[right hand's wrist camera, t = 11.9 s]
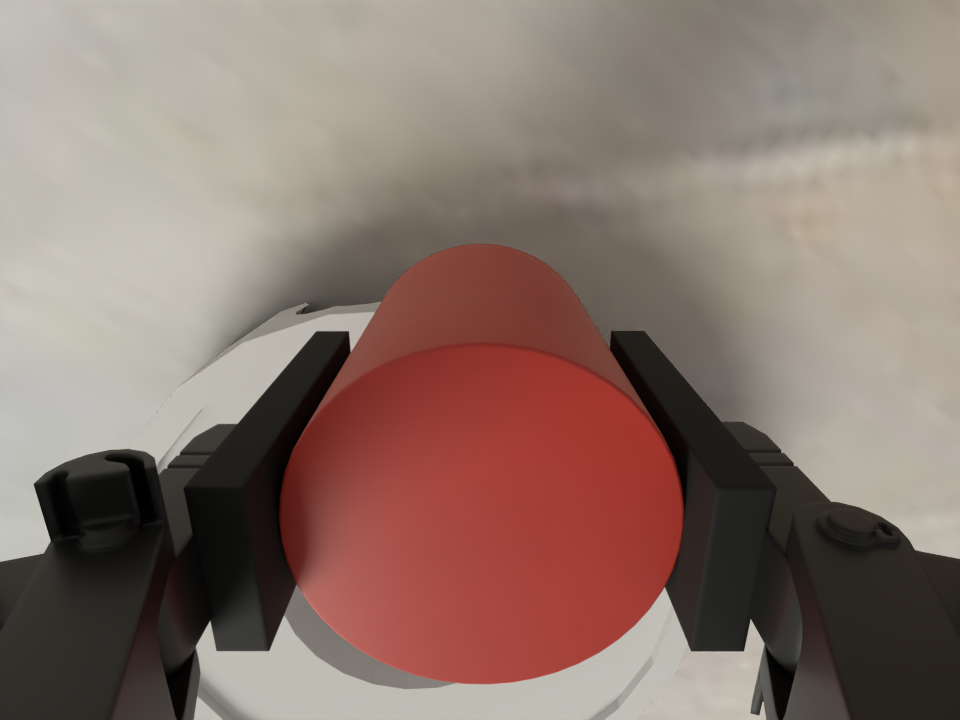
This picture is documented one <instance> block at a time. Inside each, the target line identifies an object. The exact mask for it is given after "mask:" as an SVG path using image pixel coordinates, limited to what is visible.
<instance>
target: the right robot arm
mask: <svg viewBox="0 0 960 720" xmlns="http://www.w3.org/2000/svg"><path fill="white" fill-rule="evenodd" d="M610 351H611V352H612V354H613V355H614V357H615V359H616V360H617V362H618V364H619V365H620V367H621V368H622V370H623V372H624V373H625V375H626V377H627V378H628V380H629V381H630V383H631V385H632V386H633V388H634V390H635V391H636V393H637V394H638V396H639V398H640V399H641V401H642V403H643V404H644V406H645V407H646V409H647V411H648V412H649V414H650V415H651V417H652V419H653V420H654V422H655V424H656V425H657V427H658V428H659V430H660V432H661V433H662V435H663V437H664V439H665V441H666V443H667V445H668V447H669V449H670V451H671V453H672V455H673V457H674V459H675V463H676V466H677V469H678V472H679V476H680V479H681V483H682V491H683V498H684V525H683V532H682V539H681V545H680V551H679V554H678V557H677V560H676V563H675V566H674V569H673V571H672V573H671V575H670V577H669V579H668V581H667V583H666V585H665V589H666V591H667V594H668V596H669V599H670V601H671V603H672V606H673V608H674V611H675V613H676V616H677V618H678V620H679V623H680V625H681V628H682V630H683V633H684V635H685V637H686V640H687V642H688V645H689V647H690V650H691V651H744V648H745V643H746V639H747V634H748V629H749V624H750V619H751V620H752V622H753V623H754V625H755V627H756V629H757V630H758V632H759V634H760V636H761V638H762V639H763V641H764V643H765V644H764V649H763V654H762V658H761V663H760V667H759V672H758V676H757V681H756V686H755V690H754V695H753V699H752V706H751V713H752V714H756V715H759V714H760V710H761V705H762V702H763V701H764V706H765V713H766V720H960V559H957V558H951V557H946V556H941V555H935V554H930V553H925V552H920V551H916V550H914V548H913V546H912V544H911V543H910V541H909V540H908V538H907V537H906V536H905V535H904V534H903V533H902V532H901V531H900V529H899V528H898V527H896V526H894V525H893V524H891V523H890V522H888V521H887V520H885V519H884V518H882V517H881V516H878V515H876V514H874V513H871V512H869V511H866V510H864V509H862V508H859V507H855V506H851V505H847V504H843V503H838V502H831V501H830V500H829V499H828V498H827V497H826V496H825V495H824V494H823V493H822V492H821V491H820V490H819V489H818V488H817V487H816V486H815V485H814V484H813V483H812V482H811V481H810V480H809V479H808V477H807V476H806V475H805V474H804V473H803V472H802V471H801V470H800V469H799V468H798V467H797V466H794V465H793V462H792V461H791V460H790V459H789V458H788V457H787V456H786V455H785V454H784V453H781V450H780V448H779V447H778V446H777V445H776V444H775V443H774V442H773V441H772V440H771V439H770V438H769V437H768V436H767V435H766V434H764V433H762V432H760V431H758V430H757V429H755V428H753V427H751V426H749V425H747V424H746V423H744V422H721V421H720V420H719V419H718V418H717V416H716V415H715V414H714V413H713V412H712V410H711V409H710V408H709V407H708V406H707V405H706V403H705V402H704V401H703V400H702V399H701V397H700V396H699V395H698V394H697V393H696V392H695V390H694V389H693V388H692V387H691V386H690V385H689V383H688V382H687V381H686V380H685V379H684V377H683V376H682V375H681V374H680V373H679V372H678V370H677V369H676V368H675V367H674V366H673V365H672V363H671V362H670V361H669V360H668V359H667V357H666V356H665V355H664V354H663V353H662V352H661V350H660V349H659V348H658V347H657V346H656V345H655V343H654V342H653V341H652V340H651V339H650V337H649V336H648V335H647V334H646V333H645V332H644V331H611V342H610ZM350 353H351V349H350V337H349V331H316V332H315V333H314V334H313V336H312V337H311V338H310V339H309V340H308V342H307V343H306V344H305V345H304V346H303V347H302V349H301V350H300V351H299V352H298V353H297V354H296V356H295V357H294V358H293V359H292V360H291V362H290V363H289V364H288V365H287V366H286V367H285V369H284V370H283V371H282V372H281V373H280V374H279V376H278V377H277V378H276V379H275V380H274V382H273V383H272V384H271V385H270V386H269V387H268V389H267V390H266V391H265V392H264V393H263V394H262V396H261V397H260V398H259V399H258V400H257V402H256V403H255V404H254V405H253V406H252V407H251V409H250V410H249V411H248V412H247V413H246V414H245V416H244V417H243V418H242V419H241V420H240V422H239V423H238V424H217V425H215V426H213V427H212V428H210V429H208V430H206V431H204V432H203V433H201V434H199V435H197V436H195V437H194V438H193V439H192V440H191V441H190V442H189V443H188V444H187V445H186V446H185V447H184V448H183V449H182V450H181V452H180V455H177V456H176V457H175V458H174V459H173V460H172V461H171V462H170V463H169V464H168V465H167V469H163V470H162V471H161V472H160V473H159V475H158V471H157V466H156V461H155V458H154V457H153V456H151V455H150V454H148V453H147V452H144V451H138V450H133V449H122V450H108V451H103V452H98V453H93V454H89V455H85V456H82V457H79V458H77V459H74V460H71V461H68V462H65V463H63V464H61V465H59V466H58V467H56V468H54V469H52V470H50V471H48V472H47V473H45V474H44V475H43V476H42V477H41V478H40V479H39V480H38V481H36V482H35V483H34V487H35V490H36V494H37V497H38V500H39V503H40V507H41V510H42V513H43V517H44V520H45V523H46V526H47V530H48V533H49V536H50V539H51V542H50V544H49V546H48V547H47V549H46V551H45V553H44V554H40V555H34V556H29V557H24V558H19V559H13V560H8V561H3V562H0V720H194V715H195V708H196V701H197V694H198V687H199V680H200V674H201V672H200V664H199V658H198V654H197V649H196V645H197V643H198V642H199V640H200V638H201V636H202V634H203V633H204V631H205V629H206V627H207V626H208V624H209V622H211V627H212V632H213V636H214V641H215V646H216V651H270V648H271V646H272V643H273V641H274V638H275V636H276V634H277V631H278V629H279V626H280V624H281V621H282V619H283V617H284V614H285V612H286V609H287V607H288V604H289V602H290V600H291V597H292V595H293V592H294V590H295V587H296V585H297V584H296V582H295V579H294V577H293V575H292V572H291V570H290V568H289V566H288V563H287V560H286V556H285V553H284V549H283V545H282V541H281V534H280V524H279V500H280V491H281V486H282V482H283V477H284V472H285V469H286V467H287V464H288V461H289V459H290V456H291V453H292V451H293V449H294V447H295V445H296V443H297V442H298V440H299V438H300V436H301V435H302V433H303V431H304V429H305V428H306V426H307V424H308V423H309V421H310V419H311V418H312V416H313V414H314V413H315V411H316V409H317V408H318V406H319V405H320V403H321V401H322V400H323V398H324V396H325V395H326V393H327V391H328V390H329V388H330V386H331V385H332V383H333V381H334V380H335V378H336V376H337V375H338V373H339V371H340V370H341V368H342V366H343V365H344V363H345V361H346V360H347V358H348V356H349V355H350Z"/></svg>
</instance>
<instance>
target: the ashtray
mask: <svg viewBox="0 0 960 720" xmlns="http://www.w3.org/2000/svg"><path fill="white" fill-rule="evenodd" d="M381 302H382V301H381ZM381 302H375V303H369V304H360V305H350V306H334V307H331V308H328V309H324V310H320V311H316V312H312V313H308V314H302V313H303V311H304V309H305V308H306V306H308V305H310V304H308V305H307V303H304V304H301V305H298V306H295V307H292V308H289V309H286V310H283V311H281V312H279V313H278V314H276V315H275V316H273V317H272V318H270V319H269V320H267V321H266V322H265V323H263V324H262V325H260V326H259V327H257V328H256V329H254V330H253V331H251V332H250V333H249V334H247V335H246V336H244V337H243V338H241V339H240V340H238V341H237V342H235V343H234V344H232V345H231V346H230V347H228V348H227V349H225V350H224V351H222V352H221V353H220V354H219V355H217V356H216V357H215V358H214V359H212V360H211V361H210V362H209V363H207V364H206V365H205V366H204V367H202V368H201V369H200V370H199V371H197V372H196V373H195V374H194V375H192V376H191V377H190V378H189V379H187V380H186V381H185V382H184V383H182V384H181V385H180V386H179V387H177V388H176V389H175V391H174V392H173V393H172V394H171V396H170V397H169V398H168V400H167V401H166V402H165V403H164V405H163V406H162V407H161V409H160V410H159V411H158V412H157V414H156V415H155V416H154V417H153V419H152V420H151V421H150V423H149V424H148V425H147V426H146V428H145V429H144V430H143V432H142V433H141V434H140V435H139V437H138V438H137V439H136V441H135V442H134V443H133V444H132V446H131V447H130V449H133V450H138V451H144V452H147V453H148V454H150V455H151V456H153V457H154V458H155V461H156V466H157V471H158V475H159V473H160V472H161V471H162V470H163V469H167V465H168V464H169V463H170V462H171V461H172V460H173V459H174V458H175V457H176V456H177V455H180V452H181V450H182V449H183V448H184V447H185V446H186V445H187V444H188V443H189V442H190V441H191V440H192V439H193V438H194V437H195V436H197V435H199V434H201V433H203V432H204V431H206V430H208V429H210V428H212V427H213V426H215V425H217V424H238V423H239V422H240V420H241V419H242V418H243V417H244V416H245V414H246V413H247V412H248V411H249V410H250V409H251V407H252V406H253V405H254V404H255V403H256V402H257V400H258V399H259V398H260V397H261V396H262V394H263V393H264V392H265V391H266V390H267V389H268V387H269V386H270V385H271V384H272V383H273V382H274V380H275V379H276V378H277V377H278V376H279V374H280V373H281V372H282V371H283V370H284V369H285V367H286V366H287V365H288V364H289V363H290V362H291V360H292V359H293V358H294V357H295V356H296V354H297V353H298V352H299V351H300V350H301V349H302V347H303V346H304V345H305V344H306V343H307V342H308V340H309V339H310V338H311V337H312V336H313V334H314V333H315V332H316V331H349V337H350V349H351V352H352V350H353V348H354V347H355V345H356V343H357V342H358V340H359V338H360V337H361V335H362V333H363V332H364V330H365V328H366V327H367V325H368V323H369V322H370V320H371V318H372V317H373V315H374V313H375V312H376V310H377V308H378V307H379V305H380V303H381ZM687 646H688V642H687V640H686V637H685V635H684V633H683V630H682V628H681V625H680V623H679V620H678V618H677V616H676V613H675V611H674V608H673V606H672V603H671V601H670V599H669V596H668V594H667V591H666V589H665V587H664V589H663V591H662V592H661V594H660V595H659V597H658V598H657V600H656V601H655V602H654V604H653V605H652V607H651V608H650V609H649V611H648V612H647V613H646V614H645V615H644V616H643V617H642V618H641V619H640V621H639V622H638V623H637V624H636V625H635V626H634V627H633V628H631V629H630V630H629V631H628V632H627V633H626V634H625V635H623V636H622V637H621V638H620V639H619V640H617V641H616V642H614V643H613V644H612V645H610V646H609V647H607V648H606V649H604V650H603V651H601V652H600V653H598V654H596V655H594V656H592V657H590V658H588V659H587V660H585V661H583V662H581V663H579V664H577V665H574V666H571V667H569V668H566V669H564V670H561V671H559V672H556V673H552V674H549V675H545V676H542V677H538V678H535V679H529V680H524V681H518V682H512V683H500V684H461V683H453V682H444V681H438V680H434V679H429V678H425V677H420V676H417V675H414V674H411V673H408V672H405V671H402V670H398V669H396V668H394V667H391V666H389V665H387V664H385V663H382V662H380V661H378V660H376V659H374V658H372V657H371V656H369V655H367V654H365V653H364V652H362V651H360V650H359V649H357V648H355V647H354V646H353V645H351V644H350V643H349V642H347V641H346V640H345V639H343V638H342V637H341V636H339V635H338V634H337V633H336V632H335V631H334V630H333V629H332V628H331V627H330V626H329V625H327V624H326V623H325V622H324V621H323V620H322V619H321V618H320V616H319V615H318V614H317V613H316V611H315V610H314V609H313V608H312V606H311V605H310V604H309V603H308V602H307V600H306V598H305V597H304V595H303V593H302V592H301V590H300V589H299V587H298V585H296V587H295V590H294V592H293V595H292V597H291V600H290V602H289V604H288V607H287V609H286V612H285V614H284V617H283V619H282V621H281V624H280V626H279V629H278V631H277V634H276V636H275V638H274V641H273V643H272V646H271V648H270V651H216V646H215V641H214V636H213V632H212V627H211V622H209V624H208V626H207V627H206V629H205V631H204V633H203V634H202V636H201V638H200V640H199V642H198V643H197V645H196V649H197V654H198V658H199V664H200V672H201V674H200V680H199V687H198V694H197V701H196V708H195V715H194V720H637V719H638V718H639V717H640V716H641V715H642V713H643V712H644V711H645V710H646V709H647V707H648V706H649V705H650V704H651V702H652V701H653V700H654V699H655V697H656V696H657V695H658V694H659V692H660V691H661V690H662V689H663V687H664V686H665V685H666V684H667V682H668V681H669V680H670V679H671V677H672V676H673V675H674V674H675V673H676V671H677V670H678V667H679V665H680V663H681V660H682V658H683V655H684V653H685V651H686V648H687Z"/></svg>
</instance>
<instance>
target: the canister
mask: <svg viewBox="0 0 960 720" xmlns="http://www.w3.org/2000/svg"><path fill="white" fill-rule="evenodd" d="M279 524H280V534H281V541H282V545H283V549H284V553H285V556H286V560H287V563H288V566H289V568H290V570H291V572H292V575H293V577H294V579H295V582H296V584H297V585H298V587H299V589H300V590H301V592H302V593H303V595H304V597H305V598H306V600H307V602H308V603H309V604H310V605H311V606H312V608H313V609H314V610H315V611H316V613H317V614H318V615H319V616H320V618H321V619H322V620H323V621H324V622H325V623H326V624H327V625H329V626H330V627H331V628H332V629H333V630H334V631H335V632H336V633H337V634H338V635H339V636H341V637H342V638H343V639H345V640H346V641H347V642H349V643H350V644H351V645H353V646H354V647H355V648H357V649H359V650H360V651H362V652H364V653H365V654H367V655H369V656H371V657H372V658H374V659H376V660H378V661H380V662H382V663H385V664H387V665H389V666H391V667H394V668H396V669H398V670H402V671H405V672H408V673H411V674H414V675H417V676H420V677H425V678H429V679H434V680H438V681H444V682H453V683H461V684H500V683H512V682H518V681H524V680H529V679H535V678H538V677H542V676H545V675H549V674H552V673H556V672H559V671H561V670H564V669H566V668H569V667H571V666H574V665H577V664H579V663H581V662H583V661H585V660H587V659H588V658H590V657H592V656H594V655H596V654H598V653H600V652H601V651H603V650H604V649H606V648H607V647H609V646H610V645H612V644H613V643H614V642H616V641H617V640H619V639H620V638H621V637H622V636H623V635H625V634H626V633H627V632H628V631H629V630H630V629H631V628H633V627H634V626H635V625H636V624H637V623H638V622H639V621H640V619H641V618H642V617H643V616H644V615H645V614H646V613H647V612H648V611H649V609H650V608H651V607H652V605H653V604H654V602H655V601H656V600H657V598H658V597H659V595H660V594H661V592H662V591H663V589H664V587H665V585H666V583H667V581H668V579H669V577H670V575H671V573H672V571H673V569H674V566H675V563H676V560H677V557H678V554H679V551H680V545H681V539H682V532H683V525H684V498H683V491H682V483H681V479H680V476H679V472H678V469H677V466H676V463H675V459H674V457H673V455H672V453H671V451H670V449H669V447H668V445H667V443H666V441H665V439H664V437H663V435H662V433H661V432H660V430H659V428H658V427H657V425H656V424H655V422H654V420H653V419H652V417H651V415H650V414H649V412H648V411H647V409H646V407H645V406H644V404H643V403H642V401H641V399H640V398H639V396H638V394H637V393H636V391H635V390H634V388H633V386H632V385H631V383H630V381H629V380H628V378H627V377H626V375H625V373H624V372H623V370H622V368H621V367H620V365H619V364H618V362H617V360H616V359H615V357H614V355H613V354H612V352H611V351H610V349H609V347H608V346H607V344H606V342H605V341H604V339H603V338H602V336H601V334H600V333H599V331H598V329H597V328H596V326H595V325H594V323H593V321H592V320H591V318H590V316H589V315H588V313H587V312H586V310H585V308H584V307H583V305H582V303H581V302H580V300H579V299H578V297H577V296H576V294H575V293H574V291H573V290H572V288H571V287H570V286H569V284H568V283H567V282H566V281H565V280H564V279H563V278H562V277H561V276H560V275H559V274H558V273H557V272H556V271H554V270H553V269H552V268H551V267H550V266H548V265H547V264H545V263H544V262H542V261H540V260H539V259H537V258H536V257H533V256H531V255H529V254H527V253H525V252H522V251H519V250H516V249H513V248H509V247H505V246H499V245H492V244H472V245H462V246H457V247H453V248H449V249H445V250H443V251H440V252H438V253H435V254H432V255H430V256H429V257H427V258H425V259H423V260H421V261H419V262H418V263H416V264H415V265H414V266H412V267H411V268H410V269H408V270H407V271H406V272H405V273H404V274H403V275H402V276H401V277H400V278H399V279H398V280H397V281H396V282H395V283H394V284H393V286H392V287H391V288H390V289H389V291H388V292H387V294H386V295H385V297H384V298H383V300H382V302H381V303H380V305H379V307H378V308H377V310H376V312H375V313H374V315H373V317H372V318H371V320H370V322H369V323H368V325H367V327H366V328H365V330H364V332H363V333H362V335H361V337H360V338H359V340H358V342H357V343H356V345H355V347H354V348H353V350H352V352H351V353H350V355H349V356H348V358H347V360H346V361H345V363H344V365H343V366H342V368H341V370H340V371H339V373H338V375H337V376H336V378H335V380H334V381H333V383H332V385H331V386H330V388H329V390H328V391H327V393H326V395H325V396H324V398H323V400H322V401H321V403H320V405H319V406H318V408H317V409H316V411H315V413H314V414H313V416H312V418H311V419H310V421H309V423H308V424H307V426H306V428H305V429H304V431H303V433H302V435H301V436H300V438H299V440H298V442H297V443H296V445H295V447H294V449H293V451H292V453H291V456H290V459H289V461H288V464H287V467H286V469H285V472H284V477H283V482H282V486H281V491H280V500H279Z"/></svg>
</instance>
